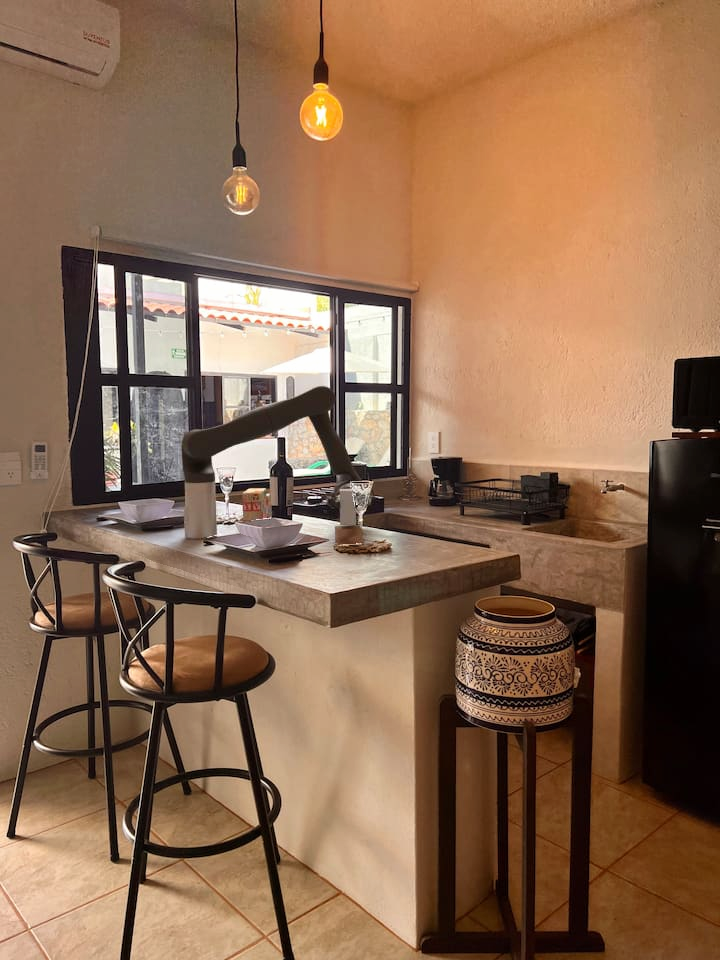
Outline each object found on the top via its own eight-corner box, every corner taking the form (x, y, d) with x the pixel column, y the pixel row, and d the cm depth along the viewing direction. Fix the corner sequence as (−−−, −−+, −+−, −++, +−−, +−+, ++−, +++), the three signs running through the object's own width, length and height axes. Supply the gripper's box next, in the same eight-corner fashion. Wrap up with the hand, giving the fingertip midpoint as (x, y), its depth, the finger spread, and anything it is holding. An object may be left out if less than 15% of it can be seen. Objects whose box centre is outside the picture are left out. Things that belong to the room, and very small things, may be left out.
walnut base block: (338, 547, 196) (337, 530, 195) (335, 542, 203) (334, 526, 202) (362, 546, 197) (362, 529, 197) (358, 541, 204) (358, 525, 203)
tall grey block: (340, 525, 197) (339, 490, 196) (340, 522, 202) (340, 488, 201) (355, 525, 197) (355, 490, 196) (356, 522, 202) (355, 488, 200)
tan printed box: (254, 518, 248) (253, 485, 247) (271, 518, 248) (270, 485, 247) (243, 529, 227) (241, 492, 226) (261, 529, 227) (260, 492, 226)
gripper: (325, 485, 213) (322, 492, 196) (371, 484, 213) (372, 491, 195) (326, 509, 213) (323, 518, 196) (372, 508, 213) (372, 517, 196)
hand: (347, 504), depth 196 cm, fingers closed on tall grey block, 4 cm apart
